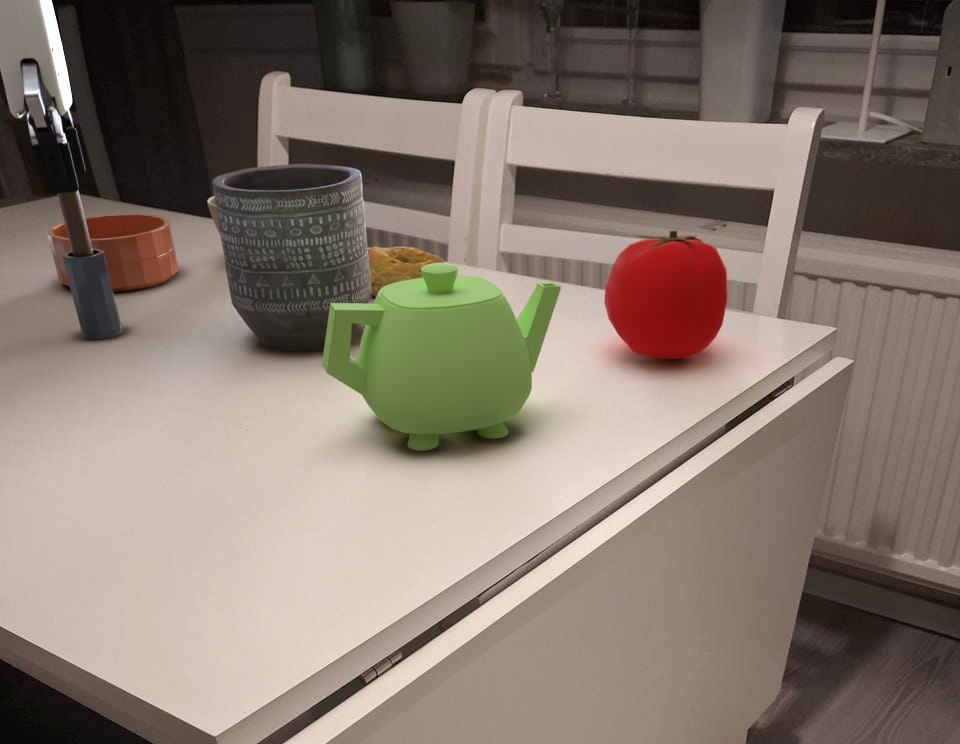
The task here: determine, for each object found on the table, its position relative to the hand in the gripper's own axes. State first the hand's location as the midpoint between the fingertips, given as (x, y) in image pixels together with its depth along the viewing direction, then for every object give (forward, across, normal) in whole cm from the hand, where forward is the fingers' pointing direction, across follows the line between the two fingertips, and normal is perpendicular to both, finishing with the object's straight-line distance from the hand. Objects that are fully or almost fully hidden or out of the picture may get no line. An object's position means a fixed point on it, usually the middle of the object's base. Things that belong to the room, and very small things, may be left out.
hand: (66, 183), depth 98 cm
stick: (+14, 0, 0) cm, 14 cm away
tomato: (+15, +24, +54) cm, 61 cm away
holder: (+14, 0, 0) cm, 14 cm away
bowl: (+14, -23, +1) cm, 27 cm away
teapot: (+15, +36, +30) cm, 49 cm away
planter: (+15, +8, +21) cm, 27 cm away
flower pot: (+15, -28, +18) cm, 36 cm away
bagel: (+15, -6, +34) cm, 37 cm away
